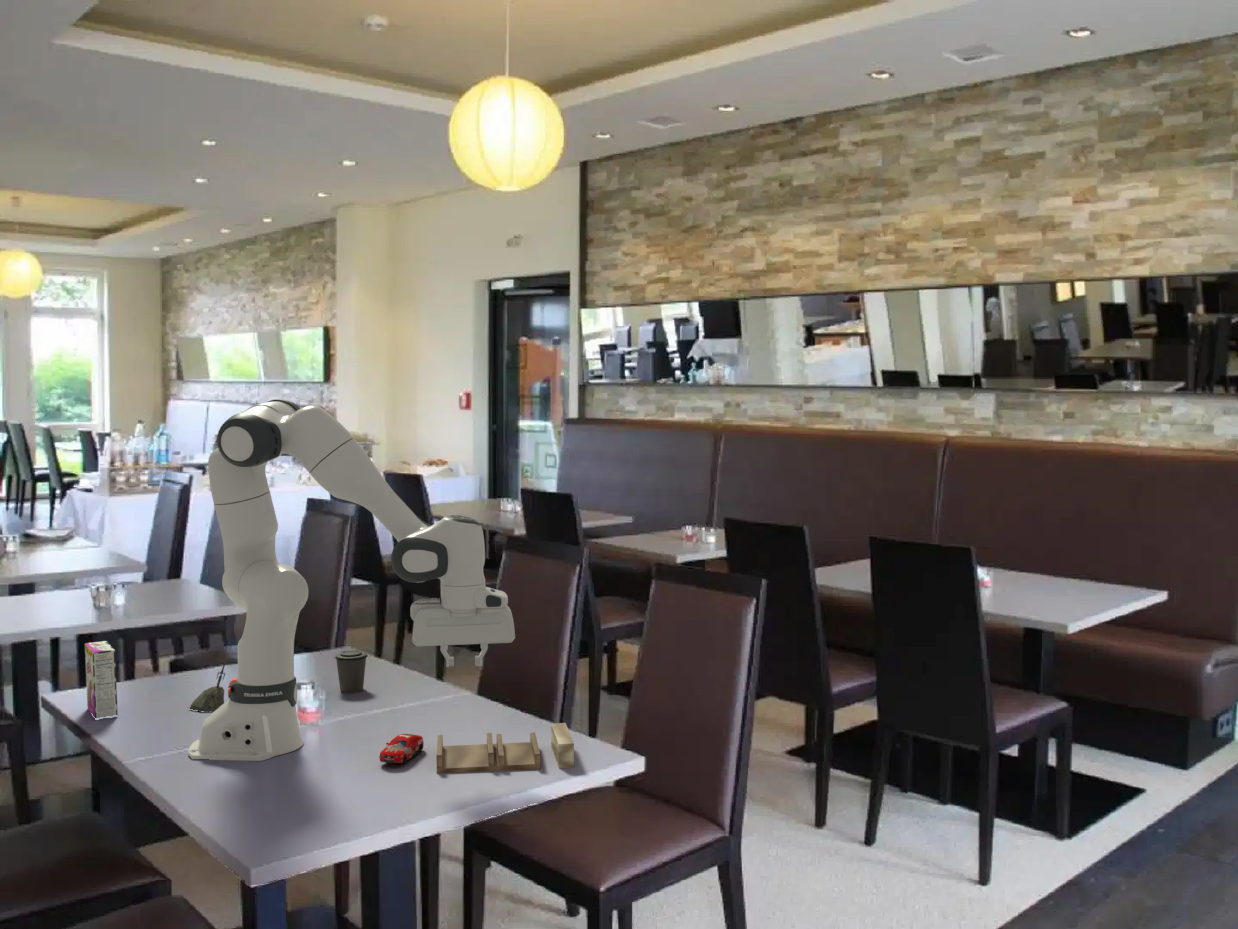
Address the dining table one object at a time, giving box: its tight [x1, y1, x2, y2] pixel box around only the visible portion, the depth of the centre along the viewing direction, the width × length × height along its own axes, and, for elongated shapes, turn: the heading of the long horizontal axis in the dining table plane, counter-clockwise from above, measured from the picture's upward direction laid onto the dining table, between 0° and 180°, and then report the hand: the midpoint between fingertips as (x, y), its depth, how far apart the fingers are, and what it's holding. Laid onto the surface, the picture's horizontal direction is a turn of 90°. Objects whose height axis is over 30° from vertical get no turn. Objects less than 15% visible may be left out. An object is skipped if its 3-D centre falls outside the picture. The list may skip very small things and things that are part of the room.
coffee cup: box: [334, 649, 369, 694], centre depth 275 cm, size 8×8×10 cm
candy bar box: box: [84, 640, 118, 718], centre depth 253 cm, size 11×5×16 cm, turn 34°
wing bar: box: [550, 722, 575, 769], centre depth 225 cm, size 3×14×5 cm, turn 9°
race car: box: [379, 733, 424, 765], centre depth 224 cm, size 13×5×4 cm, turn 166°
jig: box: [435, 732, 541, 774], centre depth 223 cm, size 20×14×4 cm
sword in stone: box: [189, 657, 228, 711], centre depth 259 cm, size 10×8×12 cm
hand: (464, 666), depth 222 cm, fingers open, 4 cm apart
